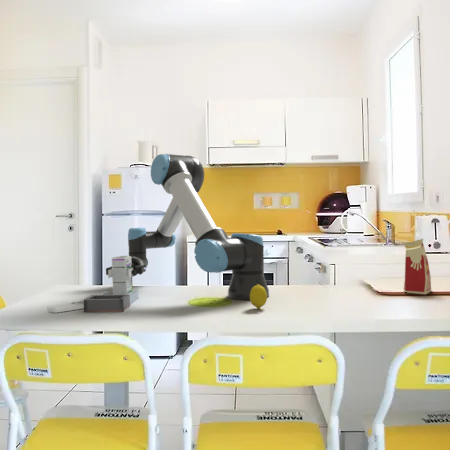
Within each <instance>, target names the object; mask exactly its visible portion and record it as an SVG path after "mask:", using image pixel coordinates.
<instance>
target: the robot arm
mask: <svg viewBox="0 0 450 450" xmlns="http://www.w3.org/2000/svg"><path fill="white" fill-rule="evenodd" d="M150 178H151V181H152V182H153V184H155V185H157V186H158V185H161V186H162V188H163V191H165V192H166V193H167V194H170V195H171V196H172V199H171V200H170V203H169V205H168V206H167V208H166V211H165V213H164V215H163V217H162V219H161V221H160V223H159V225H158V227H157V229H156V230H155V231H153V230H152V231H147V230H146V228H145V227H131V228H128V233H127V243H128V256H131V261H132V268H130V269H128V270H127V277H131V276H132V278H133V277H136V276H138V275H140V276H141V275H142V274H144V273H145V272H146V271H147V270H146V269H147V267H148V265H149V260H148V258H147V250H151V249H165V248H171V247H172V246H174V245H175V243H176V235H175V232H176V230H177V228H178V226H179V225H180V223H181V221H182V219H183V217H184V220H185V221H186V223H187V224H188V226H189V228H190V230H191V231H192V233H193V235H194V237H195V239H196V240H195V243H194V245H195V247H194V251H193V253H194V254H195V255H194V258H195V262H196V263H197V265H198V266H199V268H200V269H201V270H202V271H204V272H206V273H214V274H216V273H217V274H218V273H222V272H227V271H229V272H230V271H232V273H231V274H232V275H231V278H230V282H229V285H228V289H227V297H228V298H230V299H233V300H241V301H242V300H247V301H248V300H249V301H250V292H251V289H252V288H253V287H254V286H256V285H257V284H259V285H260V286H262V287H264V288H265V290H266V293H267V298H269V297H270V290H269V287H268V284H267V283H268V282H267V281H266V278H265V274H264V273H265V272H264V270H265V269H264V268H265V263H264V260H265V259H264V258H265V255H264V251H265V249H264V248H265V247H264V239H263V237H262V236H261V235H258V234H253V233H252V234H250V233H238V232H237V233H232V234H231V236H230V237H229V236H228V234H227V233H226V231H225V230H224V229H223V228H222V227H218V226H217V225H216V223H215V221H214V219H213V217H212V216H211V215H210V211H208V209H207V208H206V206H205V204H204V203H203V201H202V198H201V197H200V195H199V194H198V193H199V192H200V190H201V189H202V186H203V185H204V184H203V183H204V180H205V169H204V166H203V165H202V163H201V161H200V160H199V159H198V158H196V157H195V156H192V155H184V154H183V155H181V154H180V155H179V154H170V153H165V154H164V153H163V154H162V153H160V154H157V155H156V156H155V157H154V159H153V161H152V163H151V167H150ZM105 275H106V276H108V278H112V265H111V266H109V267H106V268H105Z"/></svg>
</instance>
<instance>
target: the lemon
mask: <svg viewBox="0 0 450 450" xmlns="http://www.w3.org/2000/svg"><path fill="white" fill-rule="evenodd" d="M267 299H268V297H267V293H266V290H265V288H264V287H262V286H260V285H259V284H257V285H256V286H254V287H253V288H252V289H251V292H250V300H249V301H250V303H251V305H252V306H254V307H255V308H256V309H257V310H259V309H261V308H262V307H263V306H265V305H266V303H267Z"/></svg>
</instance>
